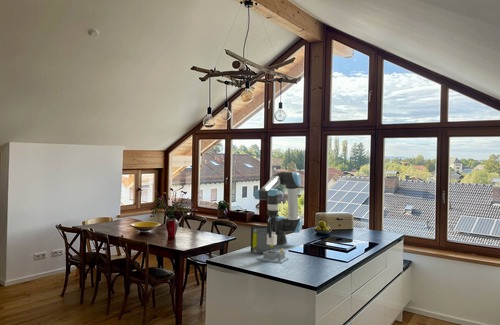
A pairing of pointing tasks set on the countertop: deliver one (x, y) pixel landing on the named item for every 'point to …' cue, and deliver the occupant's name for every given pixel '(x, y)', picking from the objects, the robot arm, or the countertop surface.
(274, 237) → the plug
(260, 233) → the electrical component
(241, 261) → the countertop surface
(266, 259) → the header board
